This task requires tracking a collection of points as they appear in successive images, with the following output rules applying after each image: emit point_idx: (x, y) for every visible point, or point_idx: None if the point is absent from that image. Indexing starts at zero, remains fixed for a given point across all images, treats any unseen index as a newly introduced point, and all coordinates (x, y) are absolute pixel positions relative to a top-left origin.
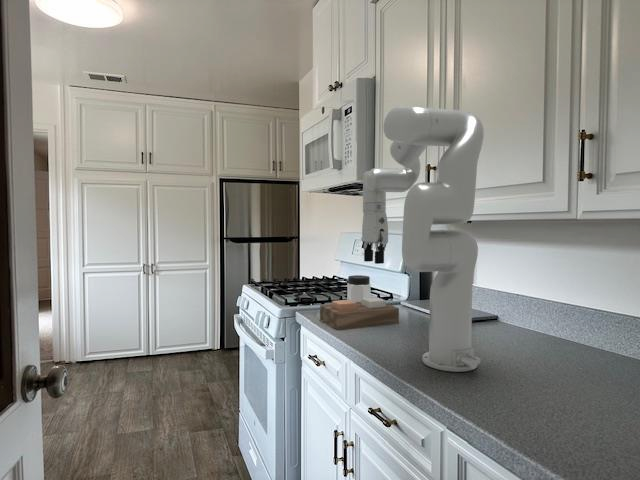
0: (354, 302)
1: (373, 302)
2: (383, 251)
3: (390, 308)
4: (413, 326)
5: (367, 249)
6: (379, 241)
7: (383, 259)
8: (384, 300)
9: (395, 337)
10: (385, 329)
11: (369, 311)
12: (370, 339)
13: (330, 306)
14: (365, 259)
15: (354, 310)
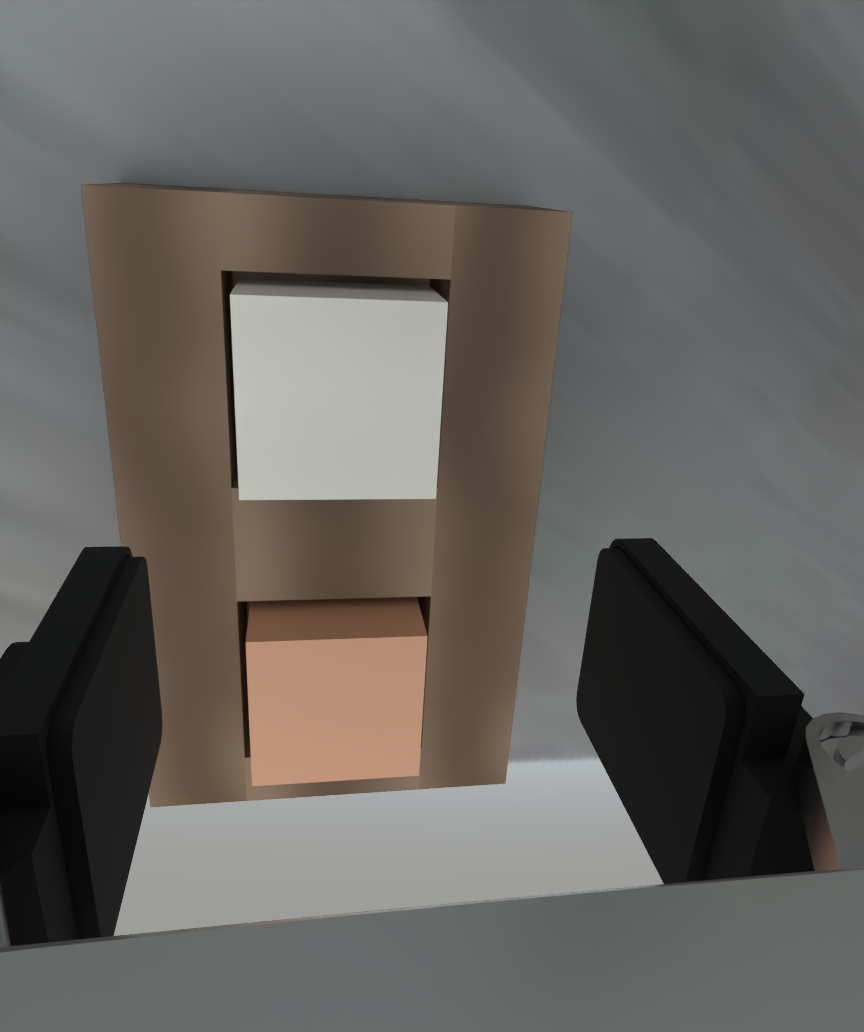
0: (399, 643)
1: (435, 456)
2: (793, 706)
3: (543, 308)
4: (671, 148)
5: (66, 929)
6: (434, 949)
7: (683, 583)
8: (442, 319)
9: (802, 465)
10: (621, 420)
11: (531, 538)
12: (743, 618)
13: (232, 752)
14: (154, 757)
15: (459, 640)
